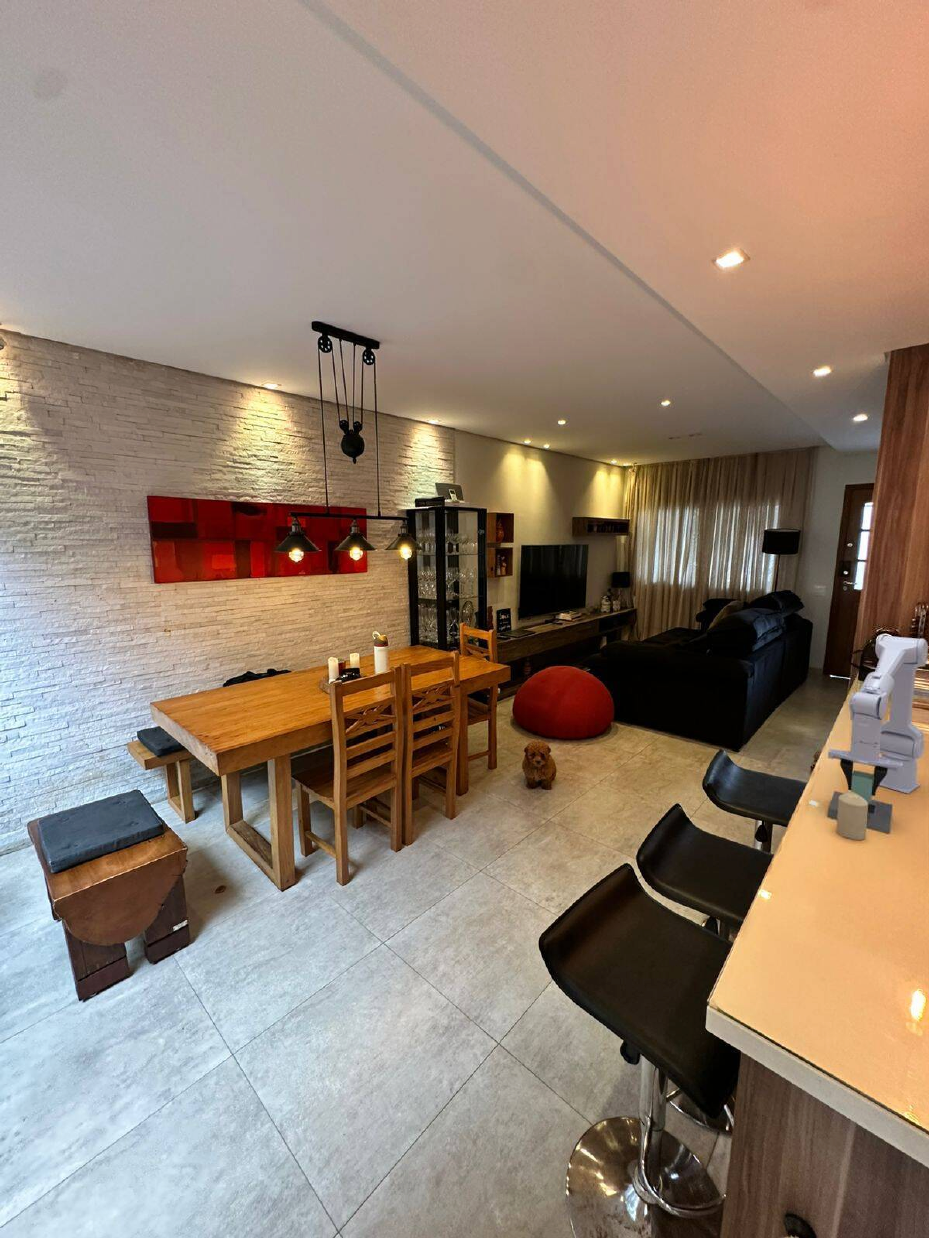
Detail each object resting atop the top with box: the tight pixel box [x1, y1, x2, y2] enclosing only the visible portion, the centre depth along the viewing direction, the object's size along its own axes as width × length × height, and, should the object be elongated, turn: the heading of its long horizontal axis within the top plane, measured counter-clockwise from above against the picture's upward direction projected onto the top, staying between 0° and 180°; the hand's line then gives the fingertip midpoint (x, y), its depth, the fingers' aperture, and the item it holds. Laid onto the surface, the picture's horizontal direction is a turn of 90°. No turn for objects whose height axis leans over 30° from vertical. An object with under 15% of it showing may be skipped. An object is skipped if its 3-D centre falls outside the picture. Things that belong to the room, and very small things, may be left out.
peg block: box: [850, 769, 874, 803], centre depth 127 cm, size 4×4×6 cm
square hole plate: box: [827, 790, 893, 834], centre depth 127 cm, size 12×12×2 cm
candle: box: [836, 791, 868, 841], centre depth 119 cm, size 6×6×10 cm
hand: (861, 791), depth 127 cm, fingers closed on peg block, 4 cm apart
